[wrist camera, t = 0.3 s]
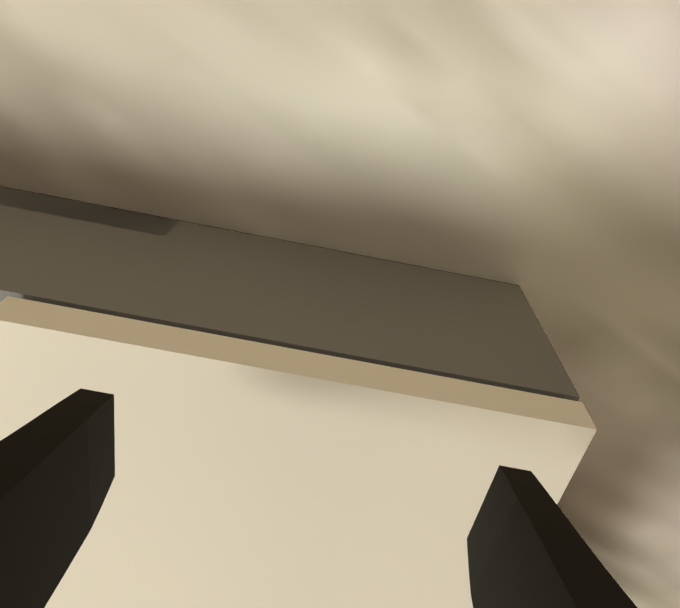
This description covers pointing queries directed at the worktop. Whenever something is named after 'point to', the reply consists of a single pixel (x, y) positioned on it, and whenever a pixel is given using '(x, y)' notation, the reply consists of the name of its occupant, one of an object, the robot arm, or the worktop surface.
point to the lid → (276, 465)
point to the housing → (273, 292)
